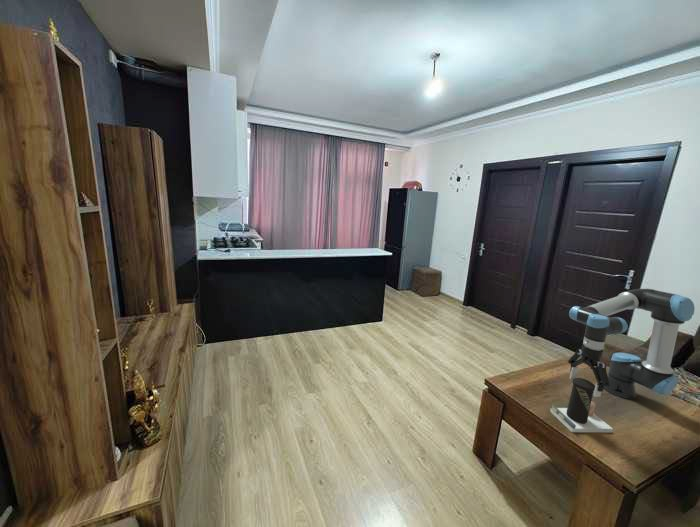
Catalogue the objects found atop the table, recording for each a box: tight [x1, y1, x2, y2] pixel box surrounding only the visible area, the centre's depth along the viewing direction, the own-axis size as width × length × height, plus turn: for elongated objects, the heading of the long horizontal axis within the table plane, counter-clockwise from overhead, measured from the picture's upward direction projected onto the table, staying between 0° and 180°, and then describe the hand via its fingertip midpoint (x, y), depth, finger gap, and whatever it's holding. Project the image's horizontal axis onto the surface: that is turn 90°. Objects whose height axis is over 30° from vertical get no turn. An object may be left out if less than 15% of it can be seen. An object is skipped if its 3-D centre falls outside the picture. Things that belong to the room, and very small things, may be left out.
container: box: [566, 377, 596, 424], centre depth 139 cm, size 9×9×20 cm
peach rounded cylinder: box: [589, 400, 596, 416], centre depth 144 cm, size 5×5×6 cm
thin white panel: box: [549, 404, 614, 433], centre depth 140 cm, size 20×14×4 cm
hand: (584, 387), depth 137 cm, fingers open, 13 cm apart
